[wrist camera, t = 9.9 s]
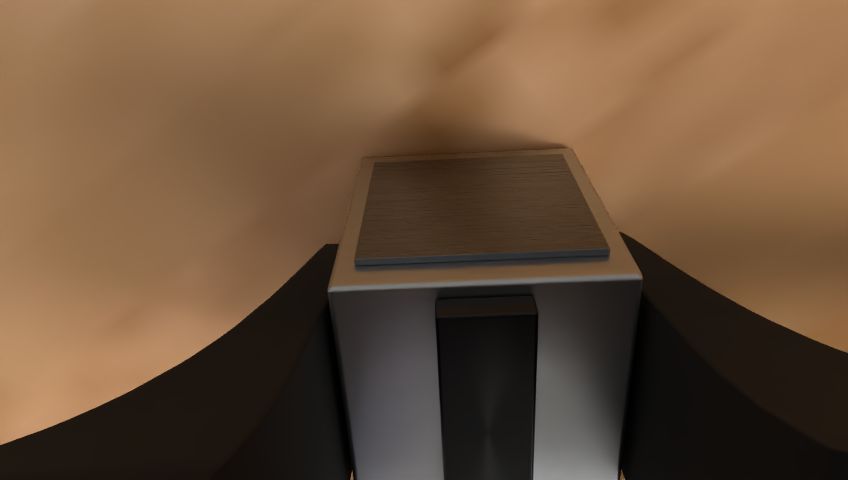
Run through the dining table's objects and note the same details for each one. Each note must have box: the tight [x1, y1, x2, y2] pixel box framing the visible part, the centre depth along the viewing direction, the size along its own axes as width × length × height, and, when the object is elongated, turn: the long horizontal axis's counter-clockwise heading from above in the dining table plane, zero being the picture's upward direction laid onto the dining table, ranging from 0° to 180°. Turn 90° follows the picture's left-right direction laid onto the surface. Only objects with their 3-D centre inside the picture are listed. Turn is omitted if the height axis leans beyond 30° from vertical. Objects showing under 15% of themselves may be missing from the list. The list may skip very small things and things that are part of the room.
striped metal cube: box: [327, 148, 643, 480], centre depth 11 cm, size 4×4×5 cm
